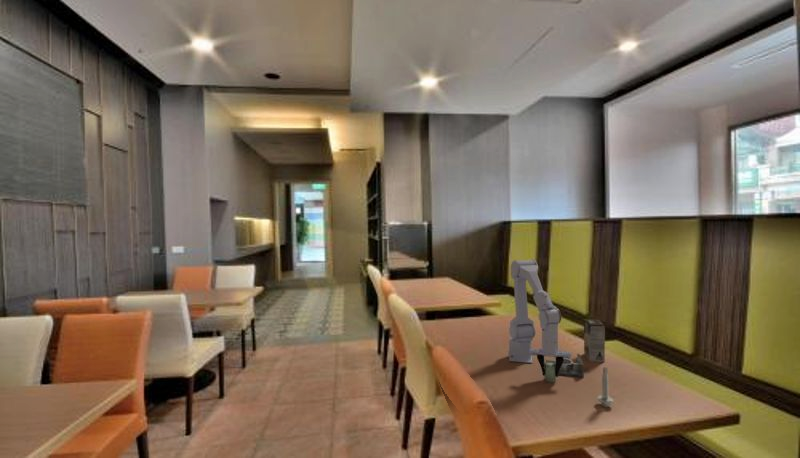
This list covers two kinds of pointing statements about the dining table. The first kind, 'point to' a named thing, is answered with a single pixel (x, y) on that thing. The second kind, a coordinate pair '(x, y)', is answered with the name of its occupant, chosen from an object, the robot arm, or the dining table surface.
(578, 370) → the cup bracket
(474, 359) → the dining table surface
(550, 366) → the grey-green rounded cylinder
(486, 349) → the dining table surface
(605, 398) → the screw
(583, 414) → the dining table surface
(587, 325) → the coffee box
